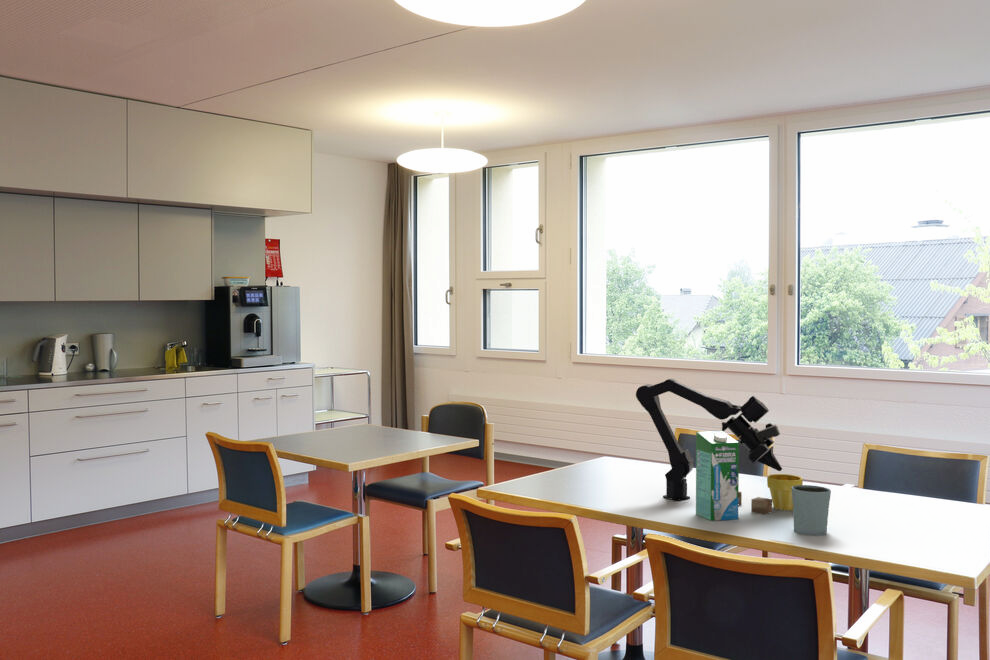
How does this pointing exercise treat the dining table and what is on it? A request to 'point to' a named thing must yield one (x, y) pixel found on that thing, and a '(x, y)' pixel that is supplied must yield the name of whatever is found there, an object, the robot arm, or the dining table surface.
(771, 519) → the dining table surface
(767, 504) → the marked block
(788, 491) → the plant pot
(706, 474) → the milk carton
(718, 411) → the robot arm
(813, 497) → the grey cup
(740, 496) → the marked block
